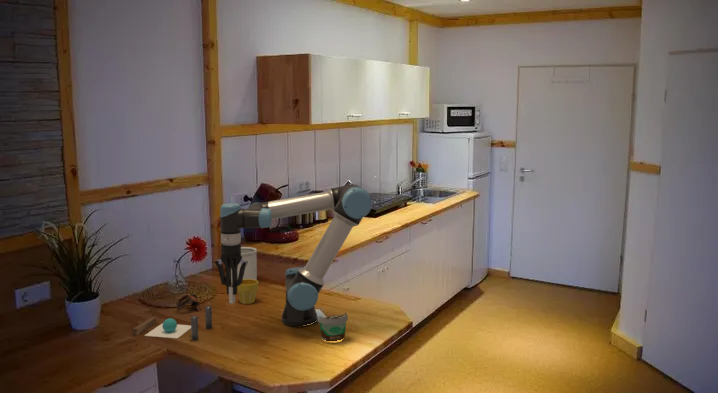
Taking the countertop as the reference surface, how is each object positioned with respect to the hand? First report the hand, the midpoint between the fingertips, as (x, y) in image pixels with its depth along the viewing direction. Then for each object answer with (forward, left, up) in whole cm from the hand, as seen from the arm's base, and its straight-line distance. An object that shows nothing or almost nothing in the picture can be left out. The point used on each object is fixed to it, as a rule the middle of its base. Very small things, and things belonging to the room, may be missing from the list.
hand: (232, 302), depth 230 cm
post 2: (+13, -6, -14) cm, 20 cm away
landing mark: (+27, 0, -14) cm, 30 cm away
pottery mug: (+31, -26, -14) cm, 43 cm away
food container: (-41, -3, -14) cm, 43 cm away
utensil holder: (+24, -72, -14) cm, 77 cm away
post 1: (+13, +6, -14) cm, 20 cm away
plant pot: (+10, -42, -14) cm, 45 cm away
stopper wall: (+38, 0, -14) cm, 40 cm away
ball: (+26, +1, -11) cm, 29 cm away
